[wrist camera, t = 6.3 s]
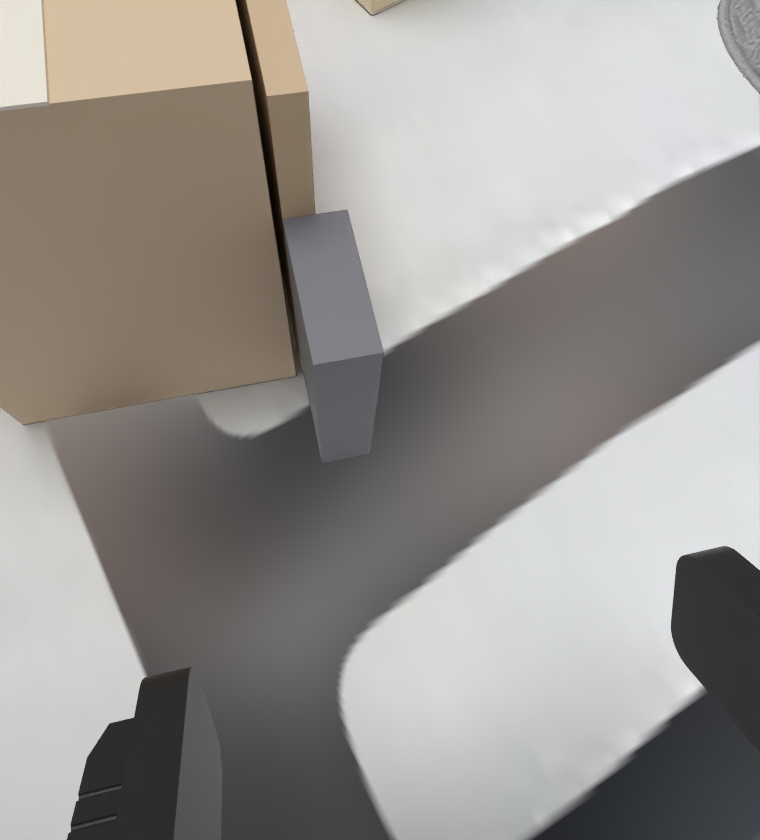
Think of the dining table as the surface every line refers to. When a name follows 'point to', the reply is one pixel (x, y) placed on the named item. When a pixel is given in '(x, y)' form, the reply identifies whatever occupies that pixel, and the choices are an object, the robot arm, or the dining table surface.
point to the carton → (132, 208)
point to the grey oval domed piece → (742, 36)
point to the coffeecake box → (377, 5)
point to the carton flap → (312, 245)
